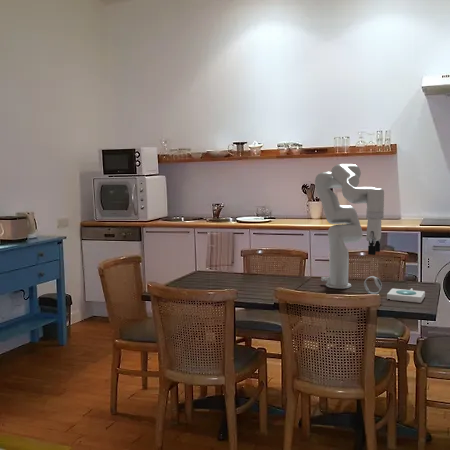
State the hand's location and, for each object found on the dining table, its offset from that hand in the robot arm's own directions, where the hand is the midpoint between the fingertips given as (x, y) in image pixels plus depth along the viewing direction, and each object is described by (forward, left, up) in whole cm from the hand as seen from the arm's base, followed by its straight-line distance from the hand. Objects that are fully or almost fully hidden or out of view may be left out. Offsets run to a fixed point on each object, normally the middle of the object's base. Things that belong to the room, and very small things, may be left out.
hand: (374, 253), depth 263 cm
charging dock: (+13, +17, -22) cm, 30 cm away
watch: (0, 0, -22) cm, 22 cm away
